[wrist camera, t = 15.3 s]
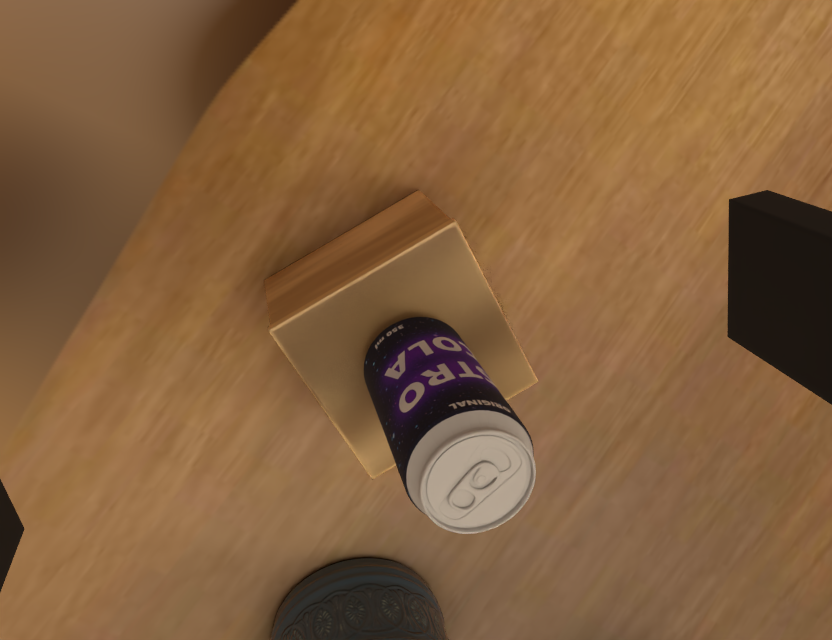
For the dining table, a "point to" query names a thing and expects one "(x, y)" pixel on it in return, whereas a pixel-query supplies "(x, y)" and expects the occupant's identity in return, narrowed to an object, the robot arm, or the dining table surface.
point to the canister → (360, 605)
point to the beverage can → (448, 427)
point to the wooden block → (386, 313)
